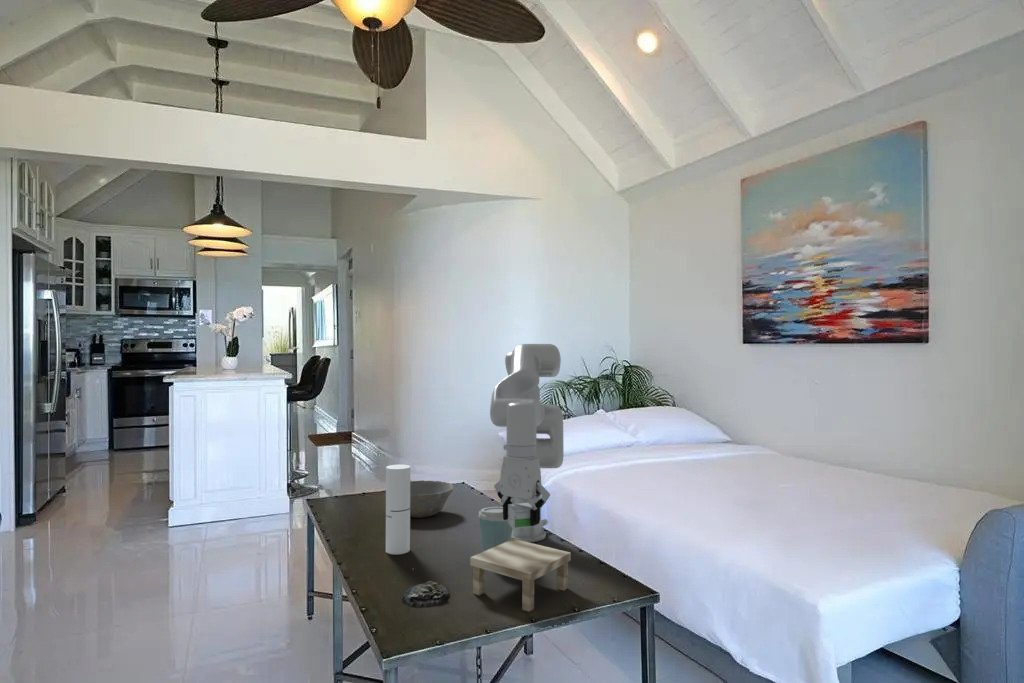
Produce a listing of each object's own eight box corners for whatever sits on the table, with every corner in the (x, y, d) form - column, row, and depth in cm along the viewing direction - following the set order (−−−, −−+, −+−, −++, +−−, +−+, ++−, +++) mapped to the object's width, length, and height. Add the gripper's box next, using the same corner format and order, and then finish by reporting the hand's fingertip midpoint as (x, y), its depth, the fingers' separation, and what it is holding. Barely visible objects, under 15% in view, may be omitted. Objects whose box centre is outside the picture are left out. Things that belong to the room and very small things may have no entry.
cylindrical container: (404, 555, 177) (405, 469, 177) (381, 553, 178) (382, 468, 178) (413, 547, 184) (413, 465, 184) (391, 545, 185) (391, 464, 185)
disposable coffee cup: (472, 557, 175) (473, 505, 175) (507, 552, 179) (507, 502, 179) (485, 569, 165) (485, 514, 165) (521, 564, 169) (521, 511, 169)
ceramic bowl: (377, 516, 216) (377, 488, 217) (421, 503, 235) (421, 477, 235) (422, 527, 204) (422, 497, 204) (465, 512, 223) (466, 485, 223)
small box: (513, 529, 148) (513, 509, 148) (507, 523, 153) (507, 503, 153) (535, 527, 149) (535, 508, 149) (528, 521, 155) (528, 502, 155)
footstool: (513, 572, 164) (513, 538, 164) (570, 588, 153) (570, 552, 153) (470, 593, 149) (470, 557, 149) (529, 613, 138) (529, 573, 138)
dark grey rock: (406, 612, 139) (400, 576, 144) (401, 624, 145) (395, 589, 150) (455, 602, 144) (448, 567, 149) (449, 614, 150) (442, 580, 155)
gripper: (485, 449, 154) (484, 519, 153) (541, 457, 143) (541, 531, 143) (503, 445, 160) (502, 512, 159) (558, 453, 149) (558, 524, 149)
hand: (521, 521), depth 151 cm, fingers closed on small box, 7 cm apart
